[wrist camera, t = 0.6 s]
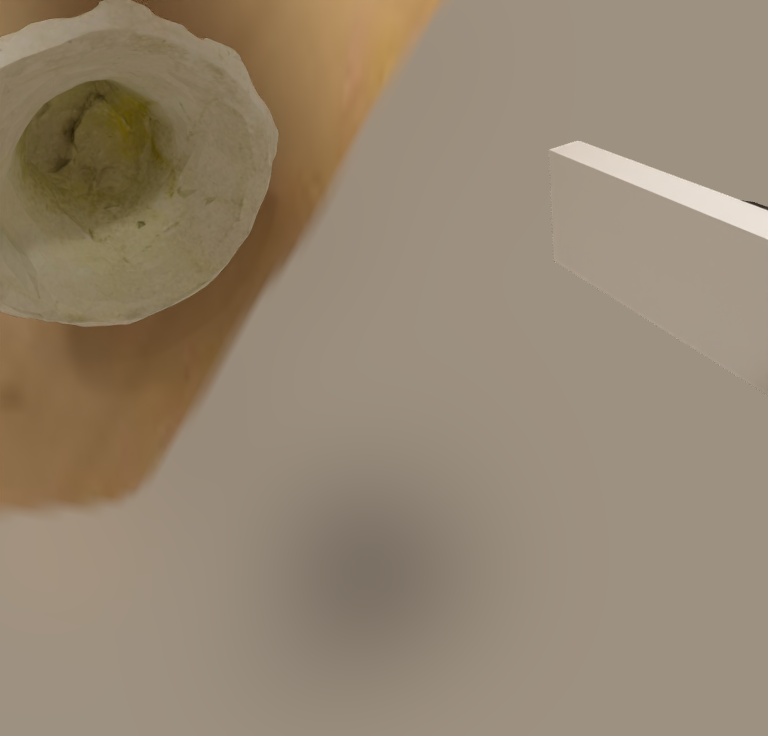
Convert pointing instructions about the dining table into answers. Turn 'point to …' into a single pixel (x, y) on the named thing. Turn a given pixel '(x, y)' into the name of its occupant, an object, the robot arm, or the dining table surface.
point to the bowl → (123, 165)
